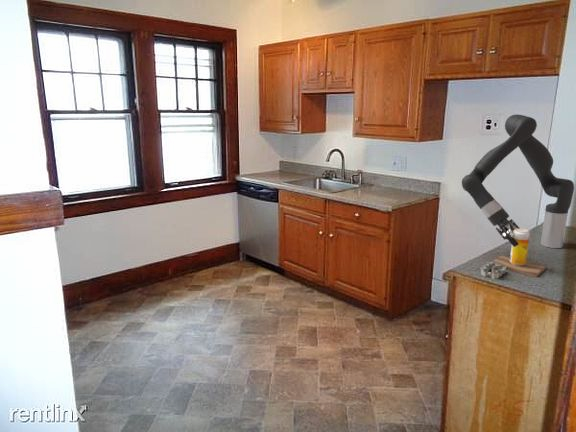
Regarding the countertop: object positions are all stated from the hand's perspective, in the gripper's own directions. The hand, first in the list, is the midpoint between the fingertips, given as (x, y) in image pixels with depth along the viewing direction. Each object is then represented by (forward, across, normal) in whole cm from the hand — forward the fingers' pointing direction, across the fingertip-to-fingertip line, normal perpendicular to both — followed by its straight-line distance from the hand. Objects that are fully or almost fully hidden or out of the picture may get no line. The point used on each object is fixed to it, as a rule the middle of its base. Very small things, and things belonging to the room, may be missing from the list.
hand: (520, 243), depth 173 cm
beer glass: (+7, 0, +7) cm, 9 cm away
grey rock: (+5, -14, +11) cm, 19 cm away
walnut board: (+8, 0, +7) cm, 11 cm away
